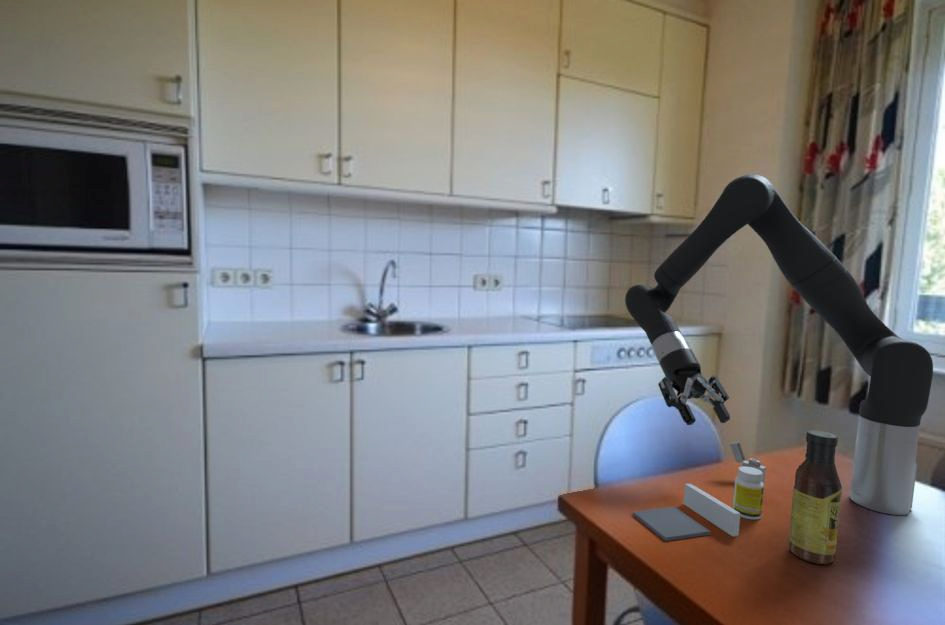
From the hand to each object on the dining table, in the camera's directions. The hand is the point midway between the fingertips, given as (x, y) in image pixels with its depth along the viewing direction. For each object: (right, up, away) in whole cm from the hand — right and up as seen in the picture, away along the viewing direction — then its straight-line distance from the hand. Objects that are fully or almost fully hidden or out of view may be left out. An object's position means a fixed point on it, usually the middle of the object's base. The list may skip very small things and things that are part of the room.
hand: (709, 422), depth 103 cm
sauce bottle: (+6, -17, -22) cm, 28 cm away
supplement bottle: (+3, -15, -9) cm, 18 cm away
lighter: (+11, -14, +6) cm, 19 cm away
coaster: (-14, -15, -14) cm, 25 cm away
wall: (-5, -15, -12) cm, 20 cm away
